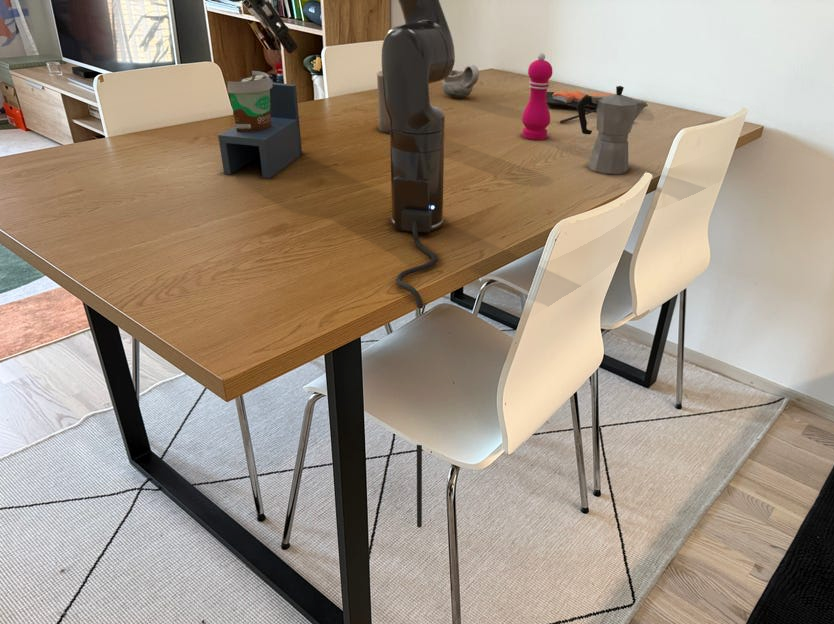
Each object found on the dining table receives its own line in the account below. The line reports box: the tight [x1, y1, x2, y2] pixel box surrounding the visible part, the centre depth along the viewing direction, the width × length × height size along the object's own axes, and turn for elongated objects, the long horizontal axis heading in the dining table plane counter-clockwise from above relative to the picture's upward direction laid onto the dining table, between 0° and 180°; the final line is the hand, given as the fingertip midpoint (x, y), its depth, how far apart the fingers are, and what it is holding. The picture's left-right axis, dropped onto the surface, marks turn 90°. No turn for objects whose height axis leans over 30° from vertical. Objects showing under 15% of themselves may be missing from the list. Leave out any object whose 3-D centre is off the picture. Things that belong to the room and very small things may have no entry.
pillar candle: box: [376, 70, 390, 134], centre depth 176 cm, size 10×10×15 cm
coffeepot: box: [576, 85, 649, 175], centre depth 156 cm, size 15×9×18 cm, turn 88°
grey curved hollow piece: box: [441, 64, 480, 99], centre depth 211 cm, size 10×12×10 cm
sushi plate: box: [546, 90, 614, 124], centre depth 204 cm, size 29×30×4 cm
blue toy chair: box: [217, 82, 303, 179], centre depth 149 cm, size 18×10×15 cm, turn 170°
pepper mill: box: [521, 52, 553, 141], centre depth 175 cm, size 7×7×20 cm
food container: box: [226, 70, 273, 132], centre depth 145 cm, size 12×6×10 cm, turn 171°
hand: (284, 41), depth 132 cm, fingers open, 8 cm apart
